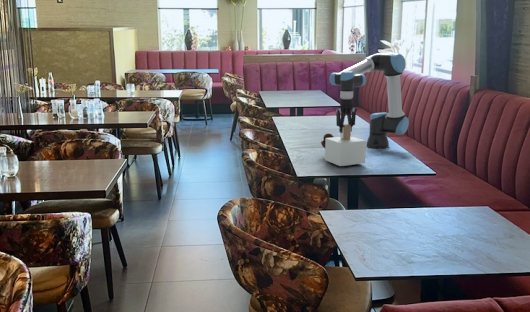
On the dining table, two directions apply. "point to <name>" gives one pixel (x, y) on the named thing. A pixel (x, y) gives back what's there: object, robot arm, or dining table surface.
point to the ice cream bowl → (326, 137)
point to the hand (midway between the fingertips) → (345, 137)
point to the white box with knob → (345, 149)
